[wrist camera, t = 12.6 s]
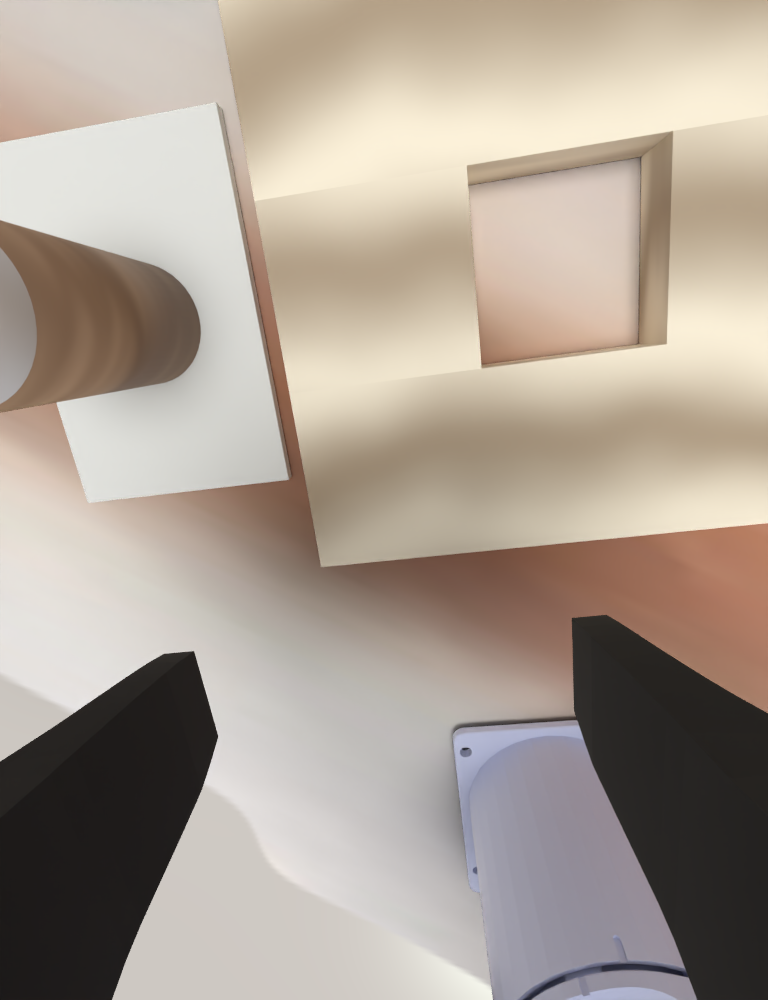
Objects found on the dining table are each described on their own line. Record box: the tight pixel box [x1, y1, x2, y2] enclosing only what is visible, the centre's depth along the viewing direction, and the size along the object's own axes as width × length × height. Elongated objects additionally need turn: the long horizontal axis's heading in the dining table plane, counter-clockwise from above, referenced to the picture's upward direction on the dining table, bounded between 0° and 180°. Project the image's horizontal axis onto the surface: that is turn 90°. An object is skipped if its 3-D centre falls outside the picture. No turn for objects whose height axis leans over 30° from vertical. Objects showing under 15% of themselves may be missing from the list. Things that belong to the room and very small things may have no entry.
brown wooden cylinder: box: [0, 220, 201, 413], centre depth 14 cm, size 4×4×8 cm
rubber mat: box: [0, 102, 292, 503], centre depth 18 cm, size 12×8×1 cm, turn 7°
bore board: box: [218, 0, 768, 567], centre depth 16 cm, size 18×18×2 cm
